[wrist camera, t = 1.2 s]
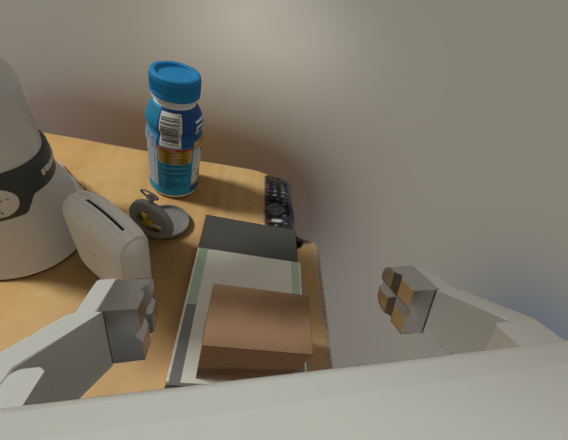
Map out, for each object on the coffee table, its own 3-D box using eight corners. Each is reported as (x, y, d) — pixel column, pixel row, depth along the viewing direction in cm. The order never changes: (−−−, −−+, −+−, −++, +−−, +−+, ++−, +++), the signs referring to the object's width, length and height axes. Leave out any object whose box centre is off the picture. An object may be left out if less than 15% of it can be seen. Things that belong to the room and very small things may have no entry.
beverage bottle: (138, 179, 51) (125, 60, 37) (177, 163, 56) (179, 54, 43) (171, 206, 49) (171, 91, 35) (208, 186, 54) (220, 80, 40)
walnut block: (283, 383, 34) (313, 354, 27) (195, 378, 32) (202, 345, 25) (283, 332, 38) (308, 295, 31) (205, 324, 36) (213, 283, 29)
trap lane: (309, 482, 29) (314, 481, 28) (142, 484, 26) (140, 484, 25) (295, 231, 53) (297, 225, 52) (206, 215, 49) (206, 209, 48)
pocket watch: (188, 209, 49) (191, 162, 42) (190, 249, 44) (193, 202, 37) (135, 208, 46) (128, 157, 39) (129, 250, 41) (121, 200, 34)
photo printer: (75, 260, 38) (47, 191, 30) (106, 242, 41) (89, 175, 33) (129, 308, 36) (115, 249, 27) (157, 285, 39) (153, 225, 30)
